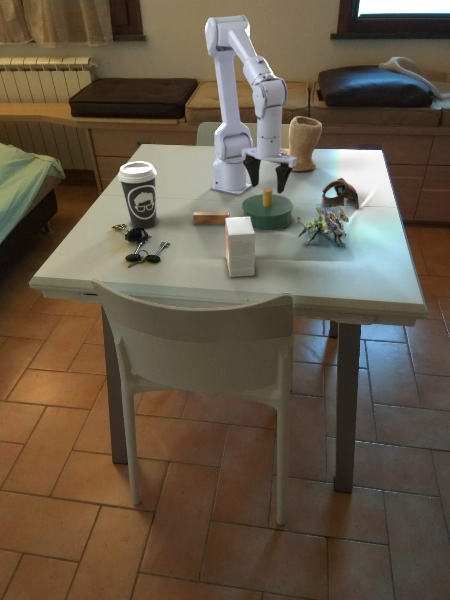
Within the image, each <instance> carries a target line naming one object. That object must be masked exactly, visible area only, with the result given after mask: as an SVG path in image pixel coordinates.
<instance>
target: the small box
mask: <svg viewBox="0 0 450 600" xmlns="http://www.w3.org/2000/svg"><path fill="white" fill-rule="evenodd" d="M224 225H225V258H226V262H227V268H228V269H227V270H228V275H229V278H237V277H251V276H255V271H256V269H255V268H256V267H255V266H256V262H255V261H256V260H255V259H256V232H255V229H254V228H253V226H252V223H251V218H250V217H243V216H237V217H235V216H234V217H229V218H225V224H224Z"/></svg>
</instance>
